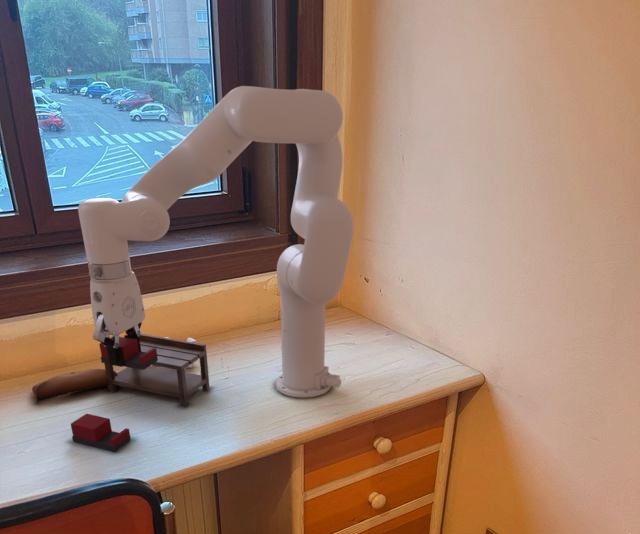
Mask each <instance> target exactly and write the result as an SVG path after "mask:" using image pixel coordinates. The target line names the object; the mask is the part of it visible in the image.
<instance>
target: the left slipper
mask: <svg viewBox="0 0 640 534" xmlns="http://www.w3.org/2000/svg"><path fill="white" fill-rule="evenodd" d="M70 428H71V433H72V436H71V438H72V442H73V443H76V444H80V445H85V446H88V447H93V448H97V449H101V450H105V451H109V452H114V453H116V452H118V451H119V450H120V449H122V448H123V447H124V446H126V445H127V444H128V443H129V442H131V439H132V438H131V433H130V428H126V427H125V428H124V429H123V430H122V431H120V432H117V431H114V430H113V429H112V423H111V419H110V418H108V417H103V416H99V415H96V414H92V413H91V414H90V413H85V414H83V415H82V416H81V417H78V418H77V419H76V420H74V421H73V422H70Z"/></svg>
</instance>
